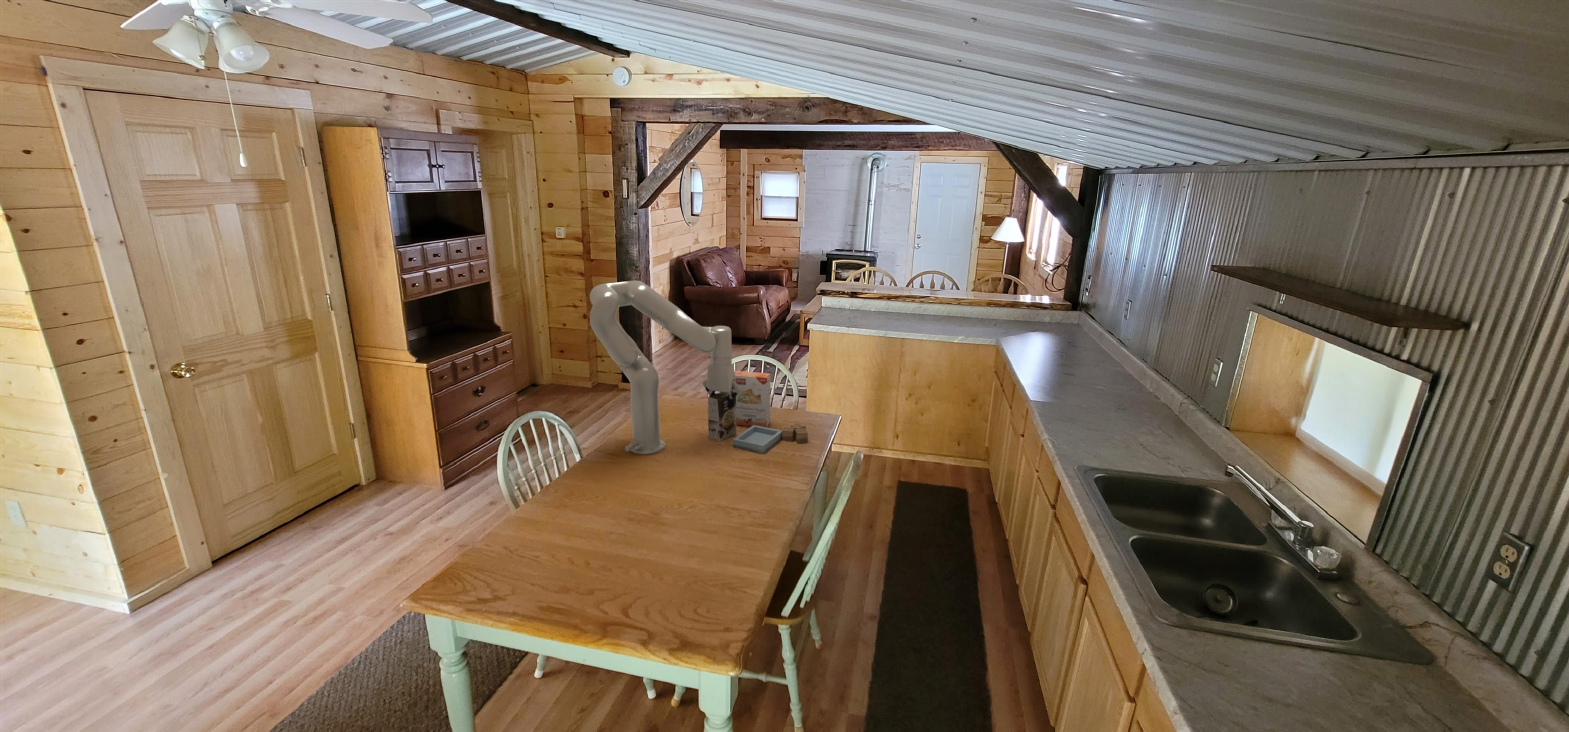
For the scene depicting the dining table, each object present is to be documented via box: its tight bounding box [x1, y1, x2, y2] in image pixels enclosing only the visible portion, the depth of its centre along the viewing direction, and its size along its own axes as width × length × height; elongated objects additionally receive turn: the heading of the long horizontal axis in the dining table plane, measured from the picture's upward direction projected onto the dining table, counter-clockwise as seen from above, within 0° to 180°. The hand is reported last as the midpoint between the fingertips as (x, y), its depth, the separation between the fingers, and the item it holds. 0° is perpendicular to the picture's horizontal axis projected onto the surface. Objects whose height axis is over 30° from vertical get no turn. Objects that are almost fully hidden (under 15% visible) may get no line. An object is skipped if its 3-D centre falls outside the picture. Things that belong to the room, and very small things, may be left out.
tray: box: [732, 425, 783, 455], centre depth 236 cm, size 15×12×3 cm
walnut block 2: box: [790, 422, 807, 430], centre depth 243 cm, size 4×4×4 cm
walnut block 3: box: [794, 428, 809, 444], centre depth 238 cm, size 4×4×4 cm
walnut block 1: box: [781, 426, 795, 442], centre depth 240 cm, size 4×4×4 cm
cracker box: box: [734, 370, 771, 428], centre depth 250 cm, size 14×6×21 cm, turn 78°
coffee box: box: [707, 392, 737, 442], centre depth 240 cm, size 9×6×16 cm
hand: (722, 405), depth 239 cm, fingers closed on coffee box, 7 cm apart
